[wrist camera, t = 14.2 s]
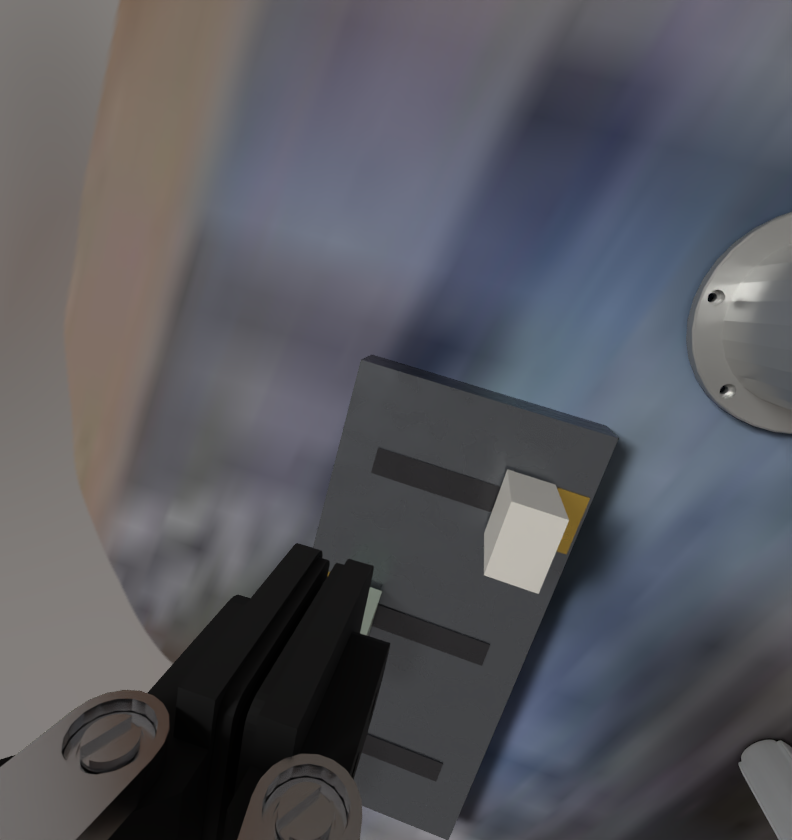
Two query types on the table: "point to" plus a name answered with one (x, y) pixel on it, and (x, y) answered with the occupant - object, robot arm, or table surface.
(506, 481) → the slider ivory
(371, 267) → the table surface
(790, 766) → the photo printer
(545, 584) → the grey slotted slider board
